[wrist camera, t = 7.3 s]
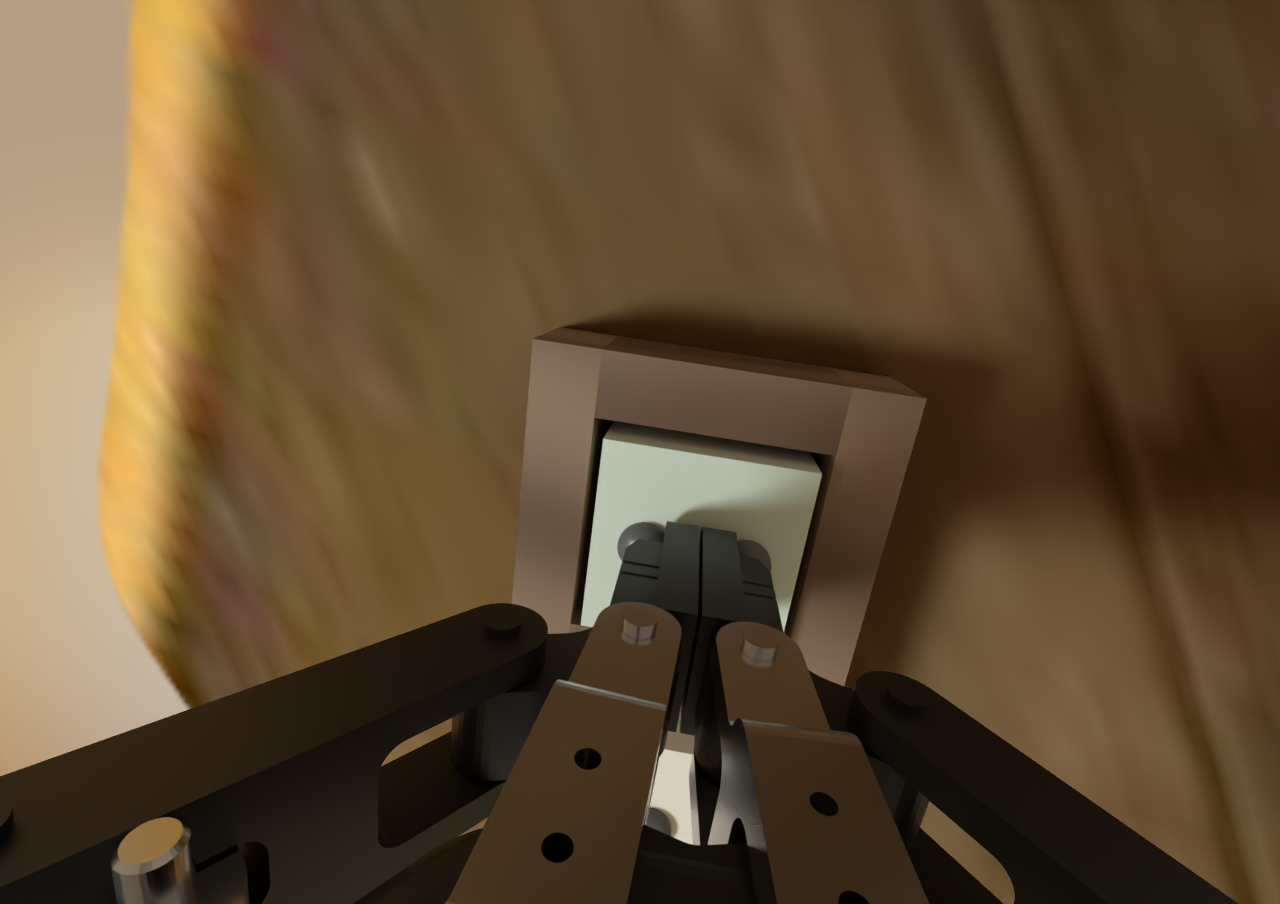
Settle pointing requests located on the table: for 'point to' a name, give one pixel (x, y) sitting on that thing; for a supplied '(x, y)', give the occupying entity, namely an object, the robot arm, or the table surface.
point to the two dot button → (699, 502)
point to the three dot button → (673, 788)
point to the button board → (727, 408)
